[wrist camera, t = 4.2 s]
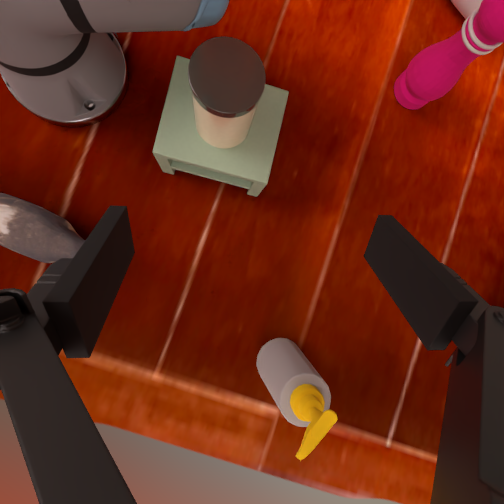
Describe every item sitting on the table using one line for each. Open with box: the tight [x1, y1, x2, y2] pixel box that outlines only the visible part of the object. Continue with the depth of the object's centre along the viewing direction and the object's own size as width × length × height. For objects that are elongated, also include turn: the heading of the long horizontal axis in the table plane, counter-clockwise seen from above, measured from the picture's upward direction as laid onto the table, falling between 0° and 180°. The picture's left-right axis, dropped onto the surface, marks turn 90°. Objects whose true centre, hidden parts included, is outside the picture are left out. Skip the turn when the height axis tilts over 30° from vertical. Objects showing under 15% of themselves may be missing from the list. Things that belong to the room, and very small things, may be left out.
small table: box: [153, 56, 289, 197], centre depth 39 cm, size 14×12×8 cm
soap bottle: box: [257, 338, 337, 461], centre depth 35 cm, size 7×7×18 cm
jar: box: [188, 37, 266, 149], centre depth 31 cm, size 7×7×9 cm
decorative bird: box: [0, 193, 85, 263], centre depth 37 cm, size 6×25×5 cm, turn 64°
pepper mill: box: [394, 0, 504, 110], centre depth 38 cm, size 7×7×20 cm
